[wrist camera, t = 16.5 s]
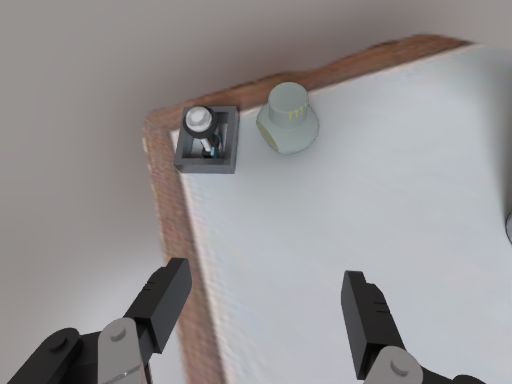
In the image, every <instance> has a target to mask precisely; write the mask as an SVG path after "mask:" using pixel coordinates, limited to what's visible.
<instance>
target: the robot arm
mask: <svg viewBox="0 0 512 384" xmlns="http://www.w3.org/2000/svg"><path fill="white" fill-rule="evenodd" d="M506 228H507V234H508V236H509V239H510V241H511V243H512V212H511V214H510V215H509V217H508V220H507V226H506ZM191 286H192V278H191V273H190V267H189V262H188V259H187V258H174V257H173V258H171V260H170V261H169V263H168V264H167V266H166V267H161V268H159V269H158V270H157V271H156V272H154V273H153V274H152V276H151V277H150V278H149V280H148V281H147V284H145V286H144V287H143V289H142V291H141V292H140V293H139V294H138V296H137V297H136V299H135V300H134V302H133V303H132V305H131V306H130V308H129V309H128V311H127V312H126V314H125V315H124V316H123V317H122V318H120V319H117V320H115V321H113V322H111V323H110V324H108V325H107V326H106V327H105V328H104V329H103V330H102V331H100V332H95V333H90V334H85V335H80V334H79V332H78V331H77V330H76V329H75V328H65V329H62V330H59V331H57V332H55V333H53V334H52V335H50V336H49V337H48V338H47V339H45V340H44V341H43V342H42V343H41V345H40V346H39V347H38V348H37V349H36V350H35V352H34V353H33V354H32V355H31V356H30V357H29V359H28V360H27V361H26V362H25V363H24V365H23V366H22V367H21V368H20V369H19V370H18V371H17V373H16V374H15V375H14V376H13V377H12V378H11V380H10V381H9V382H8V383H7V384H153V381H152V375H151V369H150V363H149V359H150V358H151V356H152V353H158V354H159V353H160V354H162V351H163V349H164V347H165V345H166V343H167V341H168V339H169V336H170V334H171V332H172V330H173V328H174V326H175V323H176V321H177V319H178V317H179V315H180V313H181V310H182V308H183V306H184V304H185V302H186V300H187V297H188V295H189V293H190V291H191ZM341 305H342V310H343V315H344V320H345V325H346V329H347V334H348V339H349V344H350V348H351V353H352V358H353V363H354V367H355V372H356V377H357V379H358V380H365V381H364V383H363V384H485V383H484V382H482V381H481V380H479V379H477V378H475V377H472V376H469V375H458V376H456V377H454V379H453V380H451V379H448V378H446V377H444V376H441V375H439V374H436V373H434V372H431V371H429V370H427V369H425V368H424V367H422V366H421V365H419V363H418V362H417V360H416V359H415V358H414V357H413V356H412V355H411V354H410V353H408V352H407V350H406V349H405V347H404V344H403V342H402V339H401V337H400V334H399V332H398V329H397V327H396V325H395V322H394V320H393V317H392V315H391V314H390V310H389V307H388V305H387V303H386V300H385V298H384V295H383V293H382V292H381V291H380V290H379V288H378V287H377V286H376V285H375V284H370V283H366V280H365V277H364V274H363V272H361V271H348V270H346V271H345V273H344V279H343V285H342V291H341Z"/></svg>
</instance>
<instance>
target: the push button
mask: <svg viewBox="0 0 512 384" xmlns="http://www.w3.org/2000/svg"><path fill="white" fill-rule="evenodd" d="M211 118H213V121H212V119H211ZM183 128H184V130H185V131H186V132H187V133H188V134H189V135H191V137H193V138H197V139H200V140H201V144H202V145H203V150H202V155H203V156H204V158H205V159H218V153H219V148H220V150H221V152H222V149H223V146H222V144H221V137H220V135H219V129H218V127H217V116H216V114H215V112H214V111H213V110H212V109H211V108H209V107H206V106H198V107H195V108H192V109H191V110H189V111H188V112H187V113H186V115H185V116H184V118H183ZM190 129H191V130H192V131H191V130H190ZM217 131H218V132H217ZM221 147H222V149H221Z"/></svg>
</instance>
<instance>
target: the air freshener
mask: <svg viewBox="0 0 512 384" xmlns="http://www.w3.org/2000/svg"><path fill="white" fill-rule="evenodd" d="M268 100H269V102H268V103H266V104H265V105H264V106H263V107H262V109H261V110H260V112H259V114H258V116H257V120H256V123H257V126H258V128H259V130H260V132H261V133H262V135H263V137H264V138H265V140H266V141H267V142H268V144H269V145H270V146H271V147H272V148H273V149H274V150H275V151H276V152H277V153H282V154H292V153H297V152H299V151H302V150H304V149H305V148H307V147H308V146H309V145H311V144H312V142H313V141H314V140H315V138H316V136H317V134H318V131H319V121H318V118H317V116H316V114H315V113H314V111H313V110H312V108H311V107H310V106H309V105H308V104H307V103H308V94H307V91H306V90H305V88H304V87H302V86H301V85H299V84H297V83H293V82H285V83H281V84H279V85H277V86H276V87H275V88H273V89H272V91H271V92H270V94H269V98H268Z"/></svg>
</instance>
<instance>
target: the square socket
mask: <svg viewBox="0 0 512 384" xmlns="http://www.w3.org/2000/svg"><path fill="white" fill-rule="evenodd" d="M206 107H209V108H211V109H212V110H213V111H214V112H215V114H216V116H217V123H228V126H227V135H226V144H225V154H224V159H199V158H190V156H191V150H192V144H193V137H191V135H189V134H188V133H187V132H186V131H185V130H184V128H183V118H184V116H185V115H186V113H187V112H188V111H189V110H191V109H192V108H195V107H184V110H183V116H182V121H181V127H180V132H179V138H178V143H177V149H176V154H175V160H174V166H175V167H176V168H177V169H178V170H179V171H180V172H181V173H216V174H234V171H235V160H236V149H237V138H238V128H239V114H238V111H237V107H236V106H206ZM211 119H212V121H213V118H211ZM190 130H191V129H190ZM191 131H192V130H191Z"/></svg>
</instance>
